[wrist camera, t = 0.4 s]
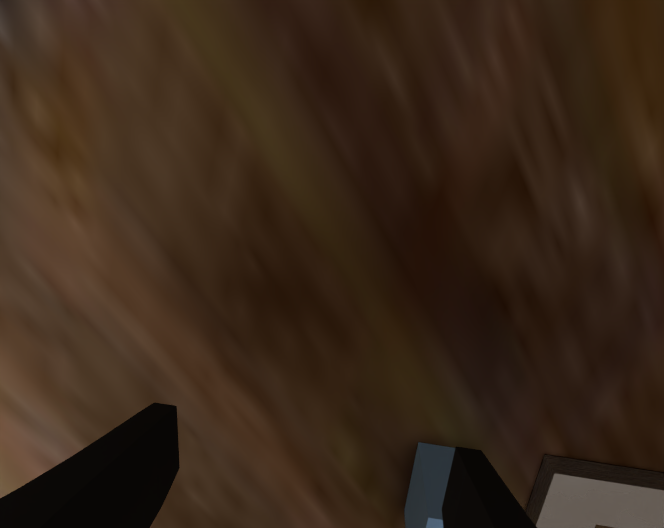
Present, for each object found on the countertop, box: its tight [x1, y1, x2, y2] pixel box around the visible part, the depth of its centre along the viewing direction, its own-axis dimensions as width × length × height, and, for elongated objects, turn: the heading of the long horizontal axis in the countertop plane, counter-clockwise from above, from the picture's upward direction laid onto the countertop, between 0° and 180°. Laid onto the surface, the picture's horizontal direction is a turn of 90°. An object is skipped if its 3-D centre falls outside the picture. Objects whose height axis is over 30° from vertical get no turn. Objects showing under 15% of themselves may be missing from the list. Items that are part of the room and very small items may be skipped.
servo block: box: [404, 442, 455, 528], centre depth 20 cm, size 5×3×5 cm, turn 175°
